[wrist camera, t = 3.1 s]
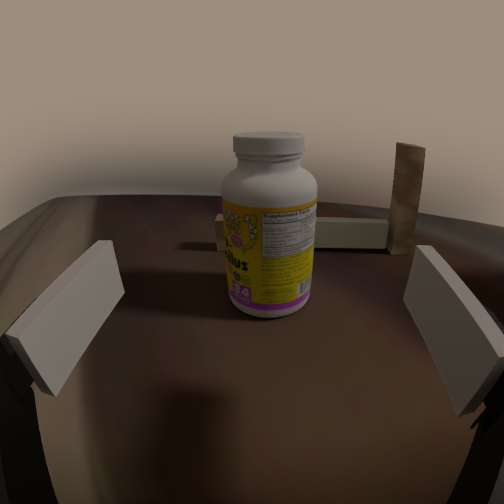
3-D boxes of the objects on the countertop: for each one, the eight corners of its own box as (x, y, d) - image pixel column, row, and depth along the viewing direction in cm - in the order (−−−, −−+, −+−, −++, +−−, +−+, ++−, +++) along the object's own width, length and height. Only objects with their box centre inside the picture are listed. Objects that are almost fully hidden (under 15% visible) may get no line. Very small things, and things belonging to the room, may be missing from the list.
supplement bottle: (223, 280, 27) (213, 133, 21) (293, 270, 28) (297, 130, 22) (236, 328, 21) (225, 140, 15) (322, 313, 22) (337, 138, 16)
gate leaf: (379, 240, 33) (382, 216, 31) (385, 248, 31) (389, 223, 29) (241, 238, 34) (239, 213, 32) (238, 246, 32) (237, 220, 31)
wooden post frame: (402, 245, 32) (415, 145, 27) (409, 254, 30) (425, 148, 25) (220, 242, 34) (214, 136, 28) (216, 252, 32) (209, 138, 26)
